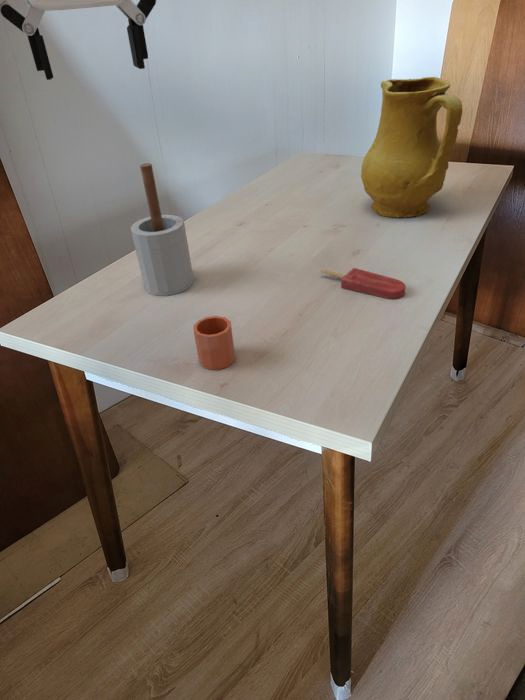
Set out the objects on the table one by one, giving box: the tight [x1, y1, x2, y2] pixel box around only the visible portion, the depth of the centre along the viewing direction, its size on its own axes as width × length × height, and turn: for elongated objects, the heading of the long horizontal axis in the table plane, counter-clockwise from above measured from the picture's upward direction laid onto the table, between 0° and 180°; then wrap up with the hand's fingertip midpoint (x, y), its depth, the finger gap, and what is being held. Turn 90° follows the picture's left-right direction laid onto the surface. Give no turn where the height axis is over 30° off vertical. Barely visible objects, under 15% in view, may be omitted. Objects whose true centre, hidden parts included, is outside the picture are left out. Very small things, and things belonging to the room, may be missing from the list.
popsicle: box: [320, 267, 406, 300], centre depth 86 cm, size 4×2×15 cm
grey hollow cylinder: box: [130, 214, 194, 297], centre depth 89 cm, size 9×9×11 cm
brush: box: [139, 162, 164, 232], centre depth 86 cm, size 3×3×20 cm
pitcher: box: [360, 76, 463, 219], centre depth 105 cm, size 17×19×25 cm
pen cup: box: [192, 315, 236, 371], centre depth 71 cm, size 5×5×6 cm
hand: (95, 72), depth 57 cm, fingers open, 9 cm apart
